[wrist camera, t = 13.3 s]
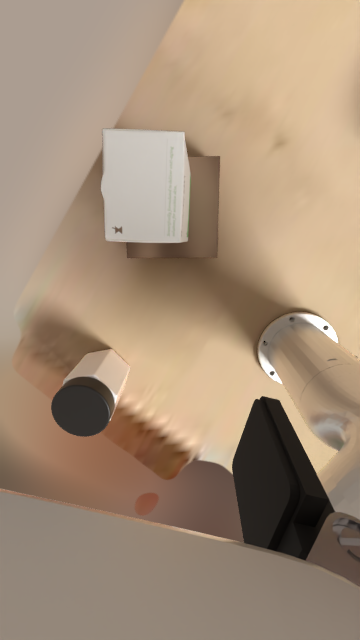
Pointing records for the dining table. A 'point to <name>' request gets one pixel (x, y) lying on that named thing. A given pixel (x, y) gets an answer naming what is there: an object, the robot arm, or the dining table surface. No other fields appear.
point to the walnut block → (192, 217)
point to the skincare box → (145, 186)
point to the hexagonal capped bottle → (90, 393)
